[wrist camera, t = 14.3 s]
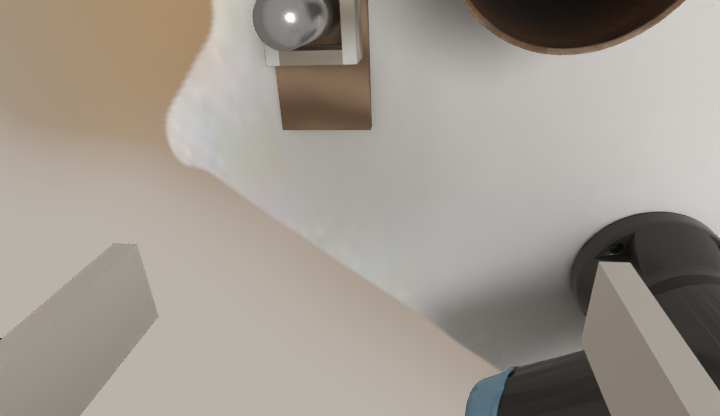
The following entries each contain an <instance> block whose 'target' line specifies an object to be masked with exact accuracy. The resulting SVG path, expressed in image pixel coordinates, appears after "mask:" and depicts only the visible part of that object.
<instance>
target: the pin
mask: <svg viewBox="0 0 720 416" xmlns="http://www.w3.org/2000/svg"><path fill="white" fill-rule="evenodd" d="M339 22H340V3H339V0H257V1H256V3H255V6H254V10H253V23H254V27H255V30H256V32H257V34H258V36H259V38H260V39H261V40H262V41H263V42H264V43H265V44H266V45H267V46H269V47H270V48H272V49H274V50H278V51H291V50H294V49H296V48H298V47H301V46H303V45H305V44H307V43H309V42H311V41H314V40H316V39H318V38H320V37H322V36H325V35H327V34H329V33H331V32H332V31H333V30H335V28H336V27H337V26H338V24H339Z"/></svg>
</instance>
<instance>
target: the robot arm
mask: <svg viewBox="0 0 720 416" xmlns="http://www.w3.org/2000/svg"><path fill="white" fill-rule="evenodd" d="M571 285H572V290H573V293H574V296H575V298H576V300H577V303H578V305H579V307H580V309H581V311H582V312H583V314H584V315H585V316H586V320H585V324H584V329H583V333H582V338H581V344H582V346H583V349H584V350H582V351H579V352H575V353H571V354H568V355H564V356H560V357H557V358H553V359H549V360H545V361H541V362H537V363H533V364H530V365H526V366H522V367H511V368H510V369H508V370H507V371H506V372H503V373H500V374H497V375H494V376H491V377H488V378H485V379H483V380H481V381H480V382H478V383H477V384H476V385H475V386H474V387H473V389H472V391H471V392H470V396H469V398H468V401H467V405H466V412H465V416H720V238H719V237H718V236H717V235H716V234H714V233H713V232H712V231H711V230H710V229H709V228H708V227H707V226H705V225H704V224H702V223H701V222H699V221H697V220H695V219H693V218H690V217H687V216H684V215H680V214H675V213H666V212H655V213H645V214H639V215H635V216H631V217H628V218H625V219H622V220H620V221H618V222H615V223H613V224H611V225H609V226H608V227H606V228H604V229H603V230H601V231H600V232H599V233H597V234H596V235H595V236H594V237H592V238H591V239H590V240H589V241H588V242H587V243H586V245H585V246H584V247H583V248H582V250H581V251H580V253H579V254H578V256H577V258H576V260H575V262H574V265H573V269H572V274H571ZM157 318H158V313H157V310H156V307H155V303H154V300H153V297H152V294H151V290H150V286H149V283H148V280H147V276H146V273H145V270H144V266H143V263H142V260H141V257H140V253H139V250H138V246H137V244H112V245H111V246H110V247H109V248H108V249H107V250H105V251H104V252H103V253H102V254H101V255H99V256H98V257H97V258H96V259H95V260H94V261H92V262H91V263H90V264H89V265H88V266H87V267H85V268H84V269H83V270H82V271H81V272H79V274H77V275H76V276H75V277H74V278H72V279H71V280H70V281H69V282H68V283H67V284H65V285H64V286H63V287H62V288H61V289H60V290H59V291H57V292H56V293H55V294H54V295H53V296H51V297H50V298H49V299H48V300H47V301H46V302H44V303H43V304H42V305H41V306H40V307H39V308H38V309H36V310H35V311H34V312H33V313H31V314H30V315H29V316H28V317H27V318H26V319H24V320H23V321H22V322H21V323H20V324H19V325H17V326H16V327H15V328H14V329H13V330H12V331H10V332H9V333H8V334H7V335H6V336H4V337H3V338H0V416H80V415H81V414H82V412H83V411H84V410H85V409H86V407H87V406H88V405H89V404H90V402H91V401H92V400H93V398H94V397H95V396H96V395H97V393H98V392H99V391H100V390H101V388H102V387H103V386H104V385H105V383H106V382H107V381H108V380H109V378H110V377H111V376H112V374H113V373H114V372H115V371H116V369H117V368H118V367H119V366H120V364H121V363H122V362H123V361H124V359H125V358H126V357H127V355H128V354H129V353H130V352H131V350H132V349H133V348H134V347H135V345H136V344H137V343H138V341H139V340H140V339H141V338H142V337H143V335H144V334H145V333H146V331H147V330H148V329H149V328H150V326H151V325H152V324H153V323H154V321H155V320H156V319H157Z"/></svg>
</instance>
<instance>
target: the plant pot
mask: <svg viewBox="0 0 720 416" xmlns="http://www.w3.org/2000/svg"><path fill="white" fill-rule="evenodd" d="M463 1H464V3H465V4H466V6H467V7H468V8H469V10H470V11H471V13H472V14H473V15H474V16H475V17H476V18H477V19H478V20H479V21H480V22H481V23H482V24H483V25H484V26H485V27H486V28H487V29H488V30H490V31H491V32H492V33H494V34H495V35H497V36H498V37H500V38H501V39H503V40H505V41H507V42H508V43H511V44H513V45H515V46H518V47H520V48H523V49H526V50H530V51H533V52H538V53H543V54H552V55H574V54H582V53H589V52H594V51H599V50H602V49H605V48H608V47H612V46H615V45H617V44H619V43H622V42H624V41H626V40H629V39H631V38H633V37H635V36H637V35H639V34H641V33H643V32H644V31H646V30H647V29H649V28H651V27H652V26H654V25H656V24H657V23H659V22H660V21H661V20H663V19H664V18H665V17H666V16H668V15H669V14H670V13H671V12H673V11H674V10H675V9H676V8H677V7H679V6H680V5H681V4H682V3H683V2H684V1H685V0H463Z"/></svg>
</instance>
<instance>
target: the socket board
mask: <svg viewBox="0 0 720 416" xmlns="http://www.w3.org/2000/svg"><path fill="white" fill-rule="evenodd" d="M339 3H340V22H339V24H338V26H337V27H336V28H335V30H333V31H332V32H331V33H329V34H327V35H325V36H322V37H320V38H318V39H316V40H314V41H311V42H309V43H307V44H305V45H303V46H301V47H298V48H296V49H294V50H291V51H278V50H274V49H272V48H270V47H269V46H267V45H266V44H265V43H264V49H265V57H266V64H267V66H276V74H277V82H278V91H279V99H280V107H281V116H282V124H283V130H371V127H372V118H371V85H370V51H369V18H368V0H339Z"/></svg>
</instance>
